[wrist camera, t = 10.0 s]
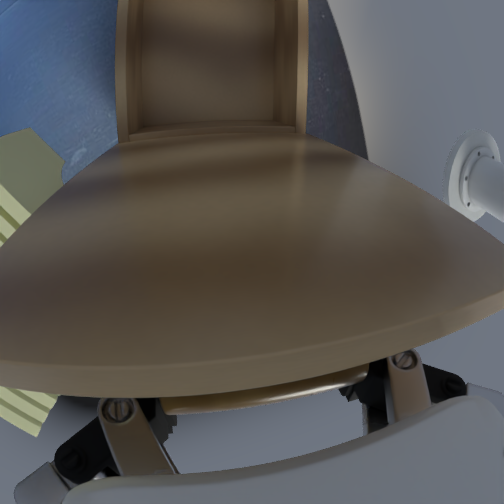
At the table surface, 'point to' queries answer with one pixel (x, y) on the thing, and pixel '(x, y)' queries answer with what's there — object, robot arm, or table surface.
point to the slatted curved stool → (6, 223)
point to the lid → (234, 274)
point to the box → (210, 67)
